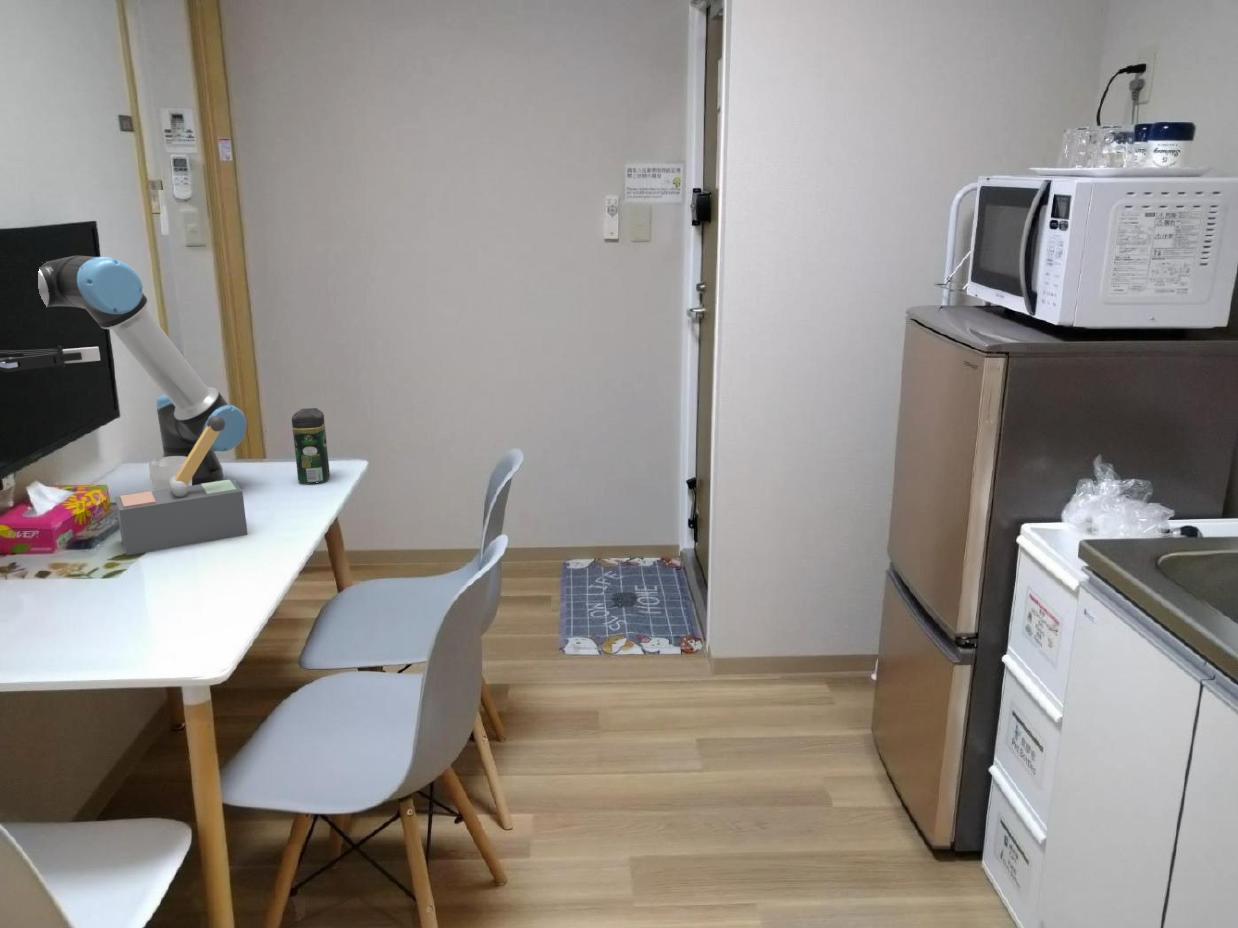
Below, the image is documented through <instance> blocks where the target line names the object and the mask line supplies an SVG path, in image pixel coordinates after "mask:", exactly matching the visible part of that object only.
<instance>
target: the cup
mask: <svg viewBox="0 0 1238 928" xmlns="http://www.w3.org/2000/svg"><path fill="white" fill-rule="evenodd" d="M186 459H187V457H185V456H169V457H163V456H162V457H158V458H155V459H153V460H150V461H149V462H148V466H149V467H148V468H149V478H150V480H151V481H150V482H151V484H152V485H151V486H152V488H153V491H159V490H166V489H171V488H170V486H169V483H168V482H169V479H170V478H171V477H173V476H176V475H177V473H178V472H179V470H180V468H181V467H182V465H183V464H184V462H185V460H186ZM187 486H192V478H191V480H190V481H189V483H188V485H187Z"/></svg>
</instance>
